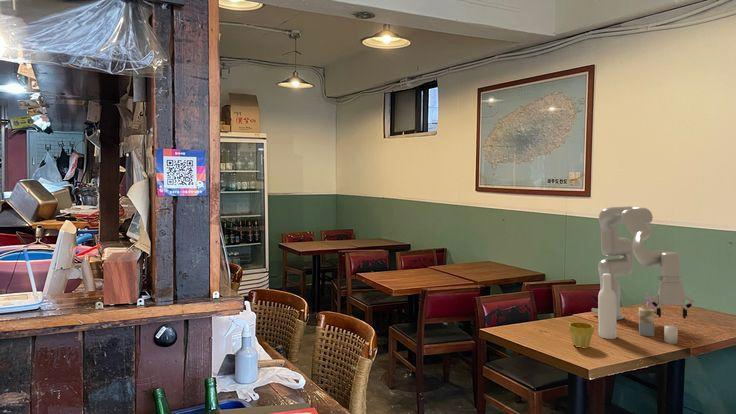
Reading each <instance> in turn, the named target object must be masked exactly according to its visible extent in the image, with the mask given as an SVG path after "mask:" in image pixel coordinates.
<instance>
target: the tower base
mask: <svg viewBox="0 0 736 414" xmlns="http://www.w3.org/2000/svg"><path fill="white" fill-rule="evenodd" d="M638 332H639V333H638V334H639V336H647V337H655V323H654V324H650V323H640V322H639V321H638Z"/></svg>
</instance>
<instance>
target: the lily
mask: <svg viewBox="0 0 736 414" xmlns="http://www.w3.org/2000/svg"><path fill="white" fill-rule="evenodd" d="M645 294H646V295H643V297H644V298H645V299H646V305H645V306H644V307H643V308H647V306H648V307H649V308H653V310H654V313H656V314H657V308H656V307H655V306H654V305H653V304H652V302H651V301H650V299H649V298H650V297H651V296H650V295H649V294H648V292H645Z"/></svg>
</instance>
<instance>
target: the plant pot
mask: <svg viewBox="0 0 736 414" xmlns="http://www.w3.org/2000/svg"><path fill="white" fill-rule="evenodd" d="M594 327H595V326H594V324H591V323H588V322H583V321H573V322H570V323H569V324H568V332H569V333H570V338H571V342H572V345H573V344H574V345H576V346H580V347H588V346H589V347H590V344H591V340H592V336H593V335H594V329H595V328H594Z"/></svg>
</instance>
